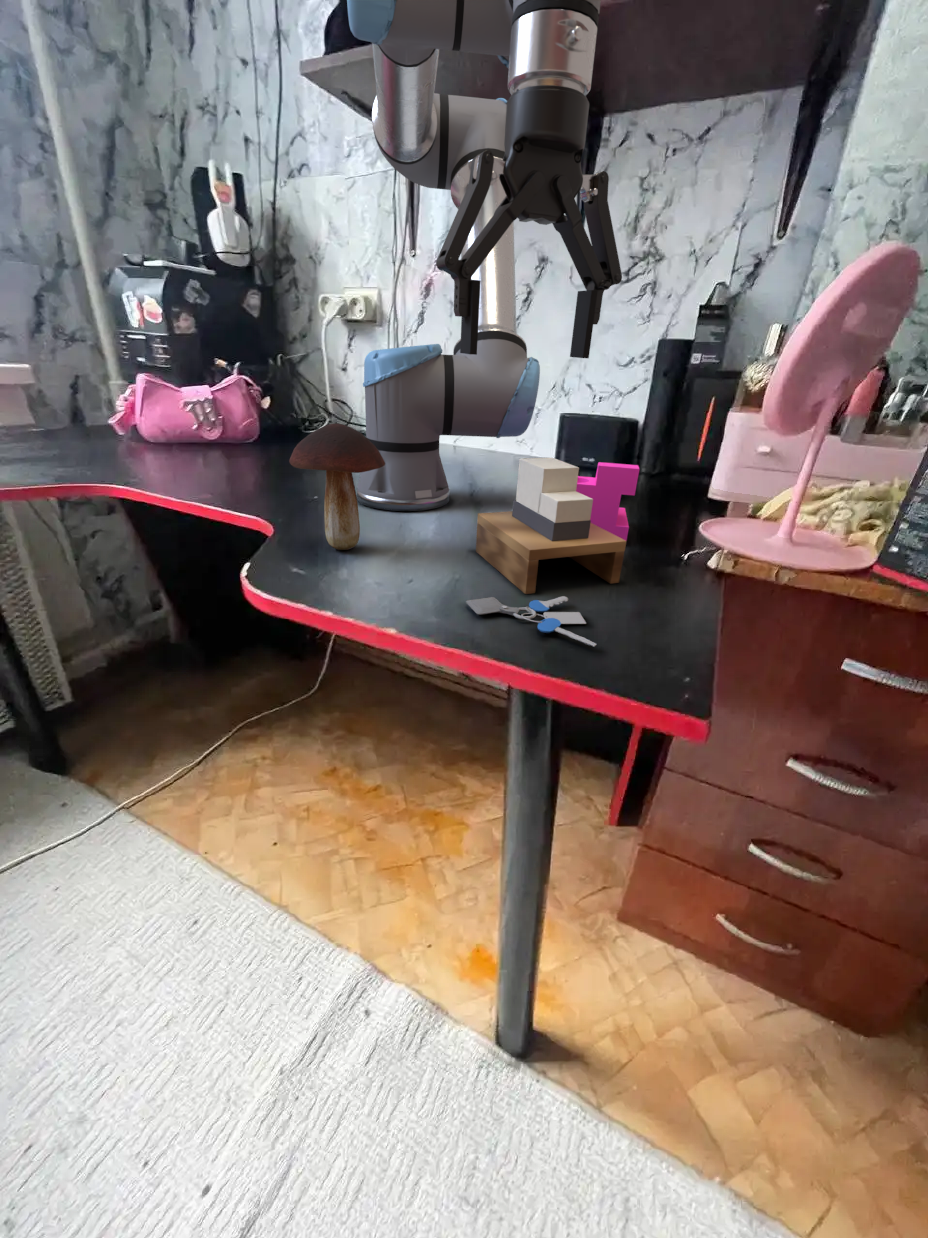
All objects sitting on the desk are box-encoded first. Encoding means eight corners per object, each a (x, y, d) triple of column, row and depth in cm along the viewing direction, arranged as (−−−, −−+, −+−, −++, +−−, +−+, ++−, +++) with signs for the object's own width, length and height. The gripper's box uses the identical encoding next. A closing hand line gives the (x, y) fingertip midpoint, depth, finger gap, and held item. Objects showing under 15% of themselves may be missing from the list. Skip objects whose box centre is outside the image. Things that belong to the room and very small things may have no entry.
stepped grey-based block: (511, 516, 67) (516, 457, 64) (544, 513, 69) (551, 456, 66) (552, 541, 59) (559, 475, 56) (588, 538, 60) (598, 474, 57)
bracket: (625, 545, 75) (639, 468, 70) (550, 537, 76) (558, 462, 72) (621, 521, 85) (633, 453, 81) (555, 514, 87) (563, 448, 82)
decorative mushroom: (400, 542, 72) (399, 422, 65) (361, 570, 62) (355, 433, 56) (326, 531, 75) (318, 415, 68) (278, 556, 65) (263, 424, 59)
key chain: (456, 611, 53) (456, 603, 53) (494, 584, 60) (495, 577, 60) (594, 652, 47) (595, 643, 47) (620, 617, 54) (622, 609, 53)
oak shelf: (475, 551, 70) (477, 513, 68) (557, 544, 74) (561, 507, 72) (525, 594, 58) (529, 549, 56) (619, 582, 62) (626, 540, 60)
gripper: (432, 48, 42) (428, 353, 52) (685, 109, 51) (640, 360, 61) (404, 82, 48) (405, 350, 58) (634, 132, 57) (601, 357, 67)
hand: (525, 356), depth 59 cm, fingers open, 13 cm apart
